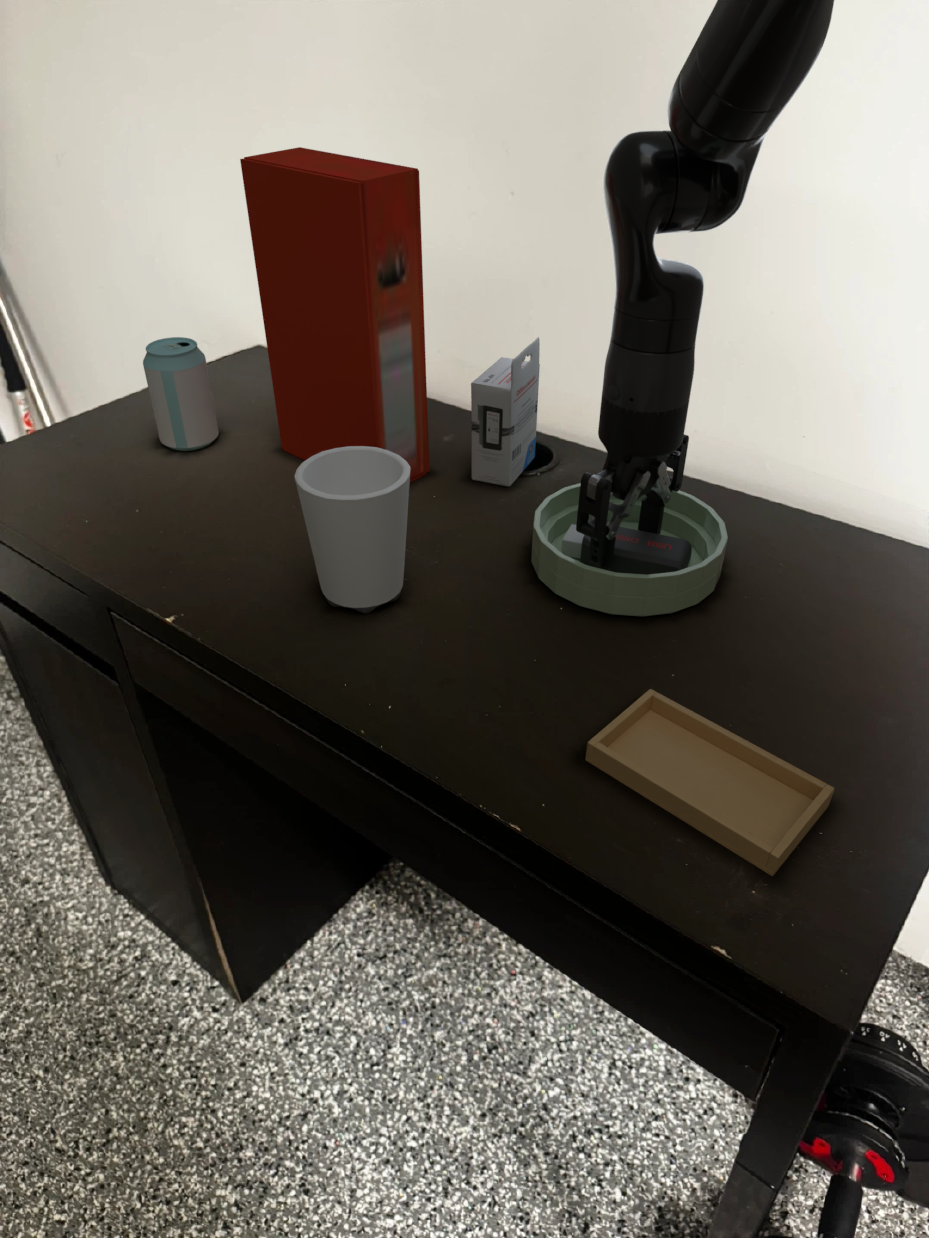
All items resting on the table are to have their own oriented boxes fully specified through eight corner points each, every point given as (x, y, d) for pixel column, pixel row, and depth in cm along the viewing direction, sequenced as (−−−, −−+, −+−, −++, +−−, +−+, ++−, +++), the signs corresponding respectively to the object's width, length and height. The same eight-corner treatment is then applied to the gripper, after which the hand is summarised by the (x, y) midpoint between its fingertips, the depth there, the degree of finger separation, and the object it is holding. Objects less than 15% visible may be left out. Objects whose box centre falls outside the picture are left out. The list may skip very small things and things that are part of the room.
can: (171, 428, 112) (151, 334, 105) (225, 429, 112) (209, 335, 105) (153, 453, 107) (130, 355, 100) (210, 454, 106) (192, 356, 99)
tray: (828, 806, 62) (835, 787, 61) (772, 876, 58) (778, 858, 57) (647, 706, 71) (650, 688, 70) (585, 760, 66) (587, 741, 65)
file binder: (378, 498, 98) (357, 181, 79) (280, 451, 107) (239, 157, 88) (429, 473, 103) (421, 168, 83) (330, 430, 112) (303, 146, 93)
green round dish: (753, 561, 88) (762, 522, 85) (649, 644, 77) (656, 602, 74) (603, 499, 98) (607, 462, 95) (493, 565, 87) (495, 526, 84)
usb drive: (680, 587, 84) (685, 563, 82) (558, 562, 87) (560, 538, 85) (690, 559, 87) (694, 535, 86) (572, 536, 91) (574, 512, 89)
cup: (290, 588, 84) (272, 467, 76) (375, 552, 89) (366, 435, 81) (349, 637, 78) (336, 511, 70) (436, 596, 83) (433, 473, 75)
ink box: (497, 449, 107) (500, 329, 99) (536, 457, 106) (543, 335, 97) (468, 480, 101) (469, 354, 92) (509, 488, 100) (514, 361, 91)
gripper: (634, 429, 70) (613, 596, 80) (727, 379, 79) (697, 536, 89) (560, 403, 75) (549, 565, 84) (655, 358, 83) (635, 510, 93)
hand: (625, 550), depth 86 cm, fingers open, 7 cm apart
